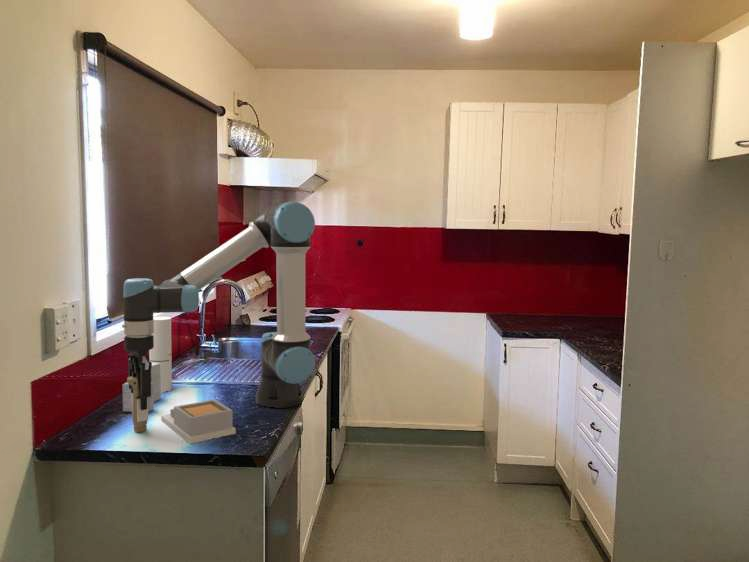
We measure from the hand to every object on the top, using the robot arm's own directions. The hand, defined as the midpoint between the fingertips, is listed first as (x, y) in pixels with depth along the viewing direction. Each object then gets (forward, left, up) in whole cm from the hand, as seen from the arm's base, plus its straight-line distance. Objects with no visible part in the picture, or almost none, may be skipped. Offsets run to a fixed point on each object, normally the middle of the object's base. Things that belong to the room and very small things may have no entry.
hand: (140, 418), depth 162 cm
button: (-14, +10, 0) cm, 17 cm away
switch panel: (-14, +6, -4) cm, 16 cm away
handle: (0, 0, -4) cm, 4 cm away
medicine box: (-5, -18, -4) cm, 19 cm away
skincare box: (-11, -26, -4) cm, 29 cm away
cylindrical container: (-18, -36, -4) cm, 40 cm away
